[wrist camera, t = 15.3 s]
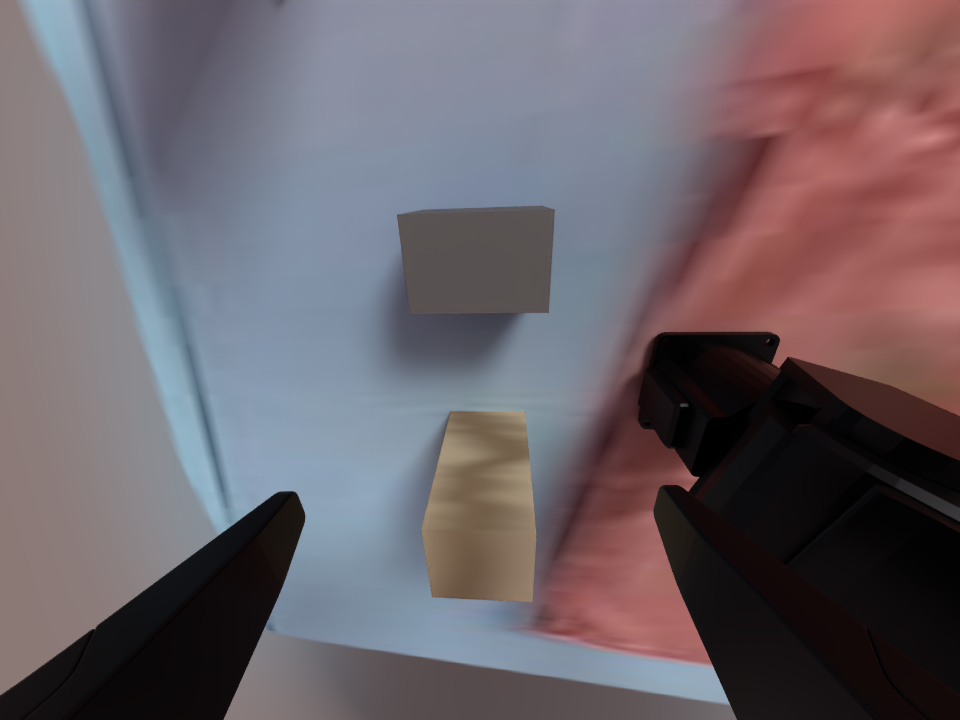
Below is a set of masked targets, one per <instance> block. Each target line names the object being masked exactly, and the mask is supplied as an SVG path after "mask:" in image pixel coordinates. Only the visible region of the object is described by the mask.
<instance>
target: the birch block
mask: <svg viewBox="0 0 960 720" xmlns="http://www.w3.org/2000/svg"><path fill="white" fill-rule="evenodd" d="M421 531H422V538H423V544H424V550H425V556H426V563H427V569H428V575H429V581H430V587H431V594H432V597H440V598H459V599H479V600H498V601H518V602H532V600H533V583H534V566H535V549H536V524H535V513H534V503H533V492H532V481H531V471H530V460H529V449H528V439H527V428H526V417H525V412H456V411H451V412H450V416H449V420H448V424H447V428H446V432H445V436H444V440H443V444H442V448H441V452H440V456H439V460H438V464H437V468H436V472H435V476H434V480H433V484H432V488H431V492H430V496H429V500H428V504H427V508H426V512H425V516H424V520H423V524H422V528H421Z"/></svg>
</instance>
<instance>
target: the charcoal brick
mask: <svg viewBox="0 0 960 720" xmlns="http://www.w3.org/2000/svg"><path fill="white" fill-rule="evenodd" d="M554 212H555V210H554V209H551V208H548V207H544V206H522V207H492V208H463V209H434V210H421V211H415V212H410V213H404V214H399V215H397V219H398V226H399V234H400V242H401V250H402V257H403V265H404V273H405V281H406V288H407V296H408V304H409V312H410V314H470V313H549V298H550V281H551V264H552V247H553V229H554Z"/></svg>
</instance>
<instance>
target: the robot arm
mask: <svg viewBox="0 0 960 720" xmlns="http://www.w3.org/2000/svg"><path fill="white" fill-rule="evenodd" d="M665 339H668V342H667V343H666V344H663V345H662V342H663V341H664V340H665ZM768 339H770V340H769V342H768V343H766V344H765V342H766V341H767V340H768ZM779 343H780V339H779V337H778V336H777V335H775V334H773V333H771V332H664V333H661V334H659V335H658V336H657V337H656V338H655V341H654V345H653V350H652V355H651V360H650V364H649V367H647V368H646V369H645V372H644V377H643V382H642V386H641V391H640V396H639V401H638V405H639V406H640V412H639V417H638V422H639V424H640V426H641V427H642V428H644V429H654V430H655V432H656V433H657V435H658V436H659V438H660V439H661V441H662V443H663V444H664V445H665V446H666V447H667V448H668V449H675V450H676V452H677V453H678V455H679V456H680V458H681V459H682V461H683V462H684V464H685V465H686V467H687V468H688V470H689V471H690V473H691V474H692V475H693V476H695V477H699V479H698V480H697V481H696V483H695V484H694V485H693V487H692V488H691V489H690V490H689V492H688V491H686V490H685V489H684V488H682V487H680V486H678V485H663V486H661V487H660V488H659V491H658V494H657V498H656V502H655V506H654V518H655V521H656V524H657V527H658V530H659V533H660V536H661V539H662V542H663V545H664V548H665V551H666V554H667V557H668V560H669V563H670V566H671V569H672V572H673V575H674V577H675V580H676V583H677V586H678V588H679V590H680V593H681V595H682V597H683V600H684V602H685V604H686V606H687V609H688V611H689V613H690V615H691V618H692V620H693V622H694V624H695V627H696V629H697V631H698V633H699V636H700V638H701V640H702V642H703V645H704V647H705V649H706V651H707V653H708V656H709V658H710V660H711V662H712V665H713V667H714V669H715V671H716V674H717V676H718V678H719V680H720V683H721V685H722V687H723V689H724V692H725V694H726V696H727V698H728V701H729V703H730V705H731V707H732V709H733V712H734V714H735V716H736V718H737V720H960V416H958V415H956V414H954V413H951V412H949V411H947V410H945V409H942V408H940V407H938V406H936V405H933V404H931V403H929V402H927V401H924V400H922V399H920V398H918V397H915V396H913V395H911V394H909V393H906V392H904V391H902V390H900V389H897V388H895V387H892V386H890V385H887V384H883V383H879V382H876V381H872V380H869V379H865V378H862V377H858V376H855V375H851V374H848V373H844V372H841V371H837V370H834V369H830V368H827V367H823V366H820V365H816V364H813V363H809V362H806V361H802V360H799V359H795V358H792V357H787V359H786V360H785V361H784V363H783V364H782V365H781V367H780V368H778V367H777V366H775V365H773V364H772V361H773V358H774V356H775V353H776V350H777V348H778V345H779ZM646 420H648V422H645V421H646ZM304 523H305V512H304V509H303V507H302V504H301V502H300V499H299V497H298V495H297V493H296V492H293V491H282V492H278V493H276V494H274V495H273V496H271V497H270V498H269V499H267V500H266V501H265V502H263V503H262V504H261V505H259V506H258V507H257V508H255V509H254V510H253V511H251V512H250V513H248V514H247V515H246V516H244V517H243V518H242V519H240V520H239V521H238V522H236V523H235V524H234V525H232V526H231V527H230V528H228V529H227V530H226V531H224V532H223V533H221V534H220V535H219V536H217V537H216V538H215V539H213V540H212V541H211V542H209V543H208V544H207V545H205V546H204V547H203V548H201V549H200V550H199V551H197V552H196V553H194V554H193V555H192V556H190V557H189V558H188V559H187V560H185V561H184V562H182V563H181V564H180V565H178V566H177V567H176V568H174V569H173V570H172V571H170V572H169V573H167V574H166V575H165V576H163V577H162V578H161V579H159V580H158V581H157V582H155V583H154V584H153V585H151V586H150V587H149V588H147V589H146V590H145V591H143V592H142V593H140V594H139V595H138V596H136V597H135V598H134V599H132V600H131V601H130V602H128V603H127V604H126V605H124V606H123V607H122V608H120V609H119V610H118V611H116V612H115V613H113V614H112V615H111V616H109V617H108V618H107V619H105V620H104V621H103V622H101V623H100V624H99V625H97V627H96V629H92V630H91V631H89V632H88V633H87V634H85V635H84V636H82V637H81V638H80V639H78V640H77V641H76V642H74V643H73V644H72V645H70V646H69V647H67V648H66V649H65V650H63V651H62V652H61V653H59V654H58V655H56V656H55V657H54V658H52V659H51V660H49V661H48V662H47V663H45V664H44V665H43V666H41V667H40V668H38V669H37V670H36V671H34V672H33V673H32V674H30V675H29V676H27V677H26V678H25V679H23V680H22V681H20V682H19V683H18V684H16V685H15V686H13V687H12V688H10V689H9V690H7V691H6V692H5V693H3V694H2V695H0V720H223V719H224V717H225V715H226V713H227V710H228V708H229V706H230V704H231V701H232V699H233V697H234V695H235V693H236V690H237V688H238V686H239V684H240V681H241V679H242V677H243V675H244V672H245V670H246V668H247V666H248V664H249V661H250V659H251V657H252V655H253V652H254V650H255V648H256V646H257V643H258V641H259V639H260V637H261V634H262V632H263V630H264V628H265V625H266V623H267V621H268V619H269V617H270V614H271V612H272V610H273V608H274V605H275V603H276V601H277V599H278V596H279V594H280V591H281V589H282V587H283V584H284V581H285V579H286V576H287V573H288V570H289V567H290V564H291V561H292V558H293V555H294V552H295V549H296V547H297V544H298V541H299V538H300V535H301V532H302V529H303V526H304Z"/></svg>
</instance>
